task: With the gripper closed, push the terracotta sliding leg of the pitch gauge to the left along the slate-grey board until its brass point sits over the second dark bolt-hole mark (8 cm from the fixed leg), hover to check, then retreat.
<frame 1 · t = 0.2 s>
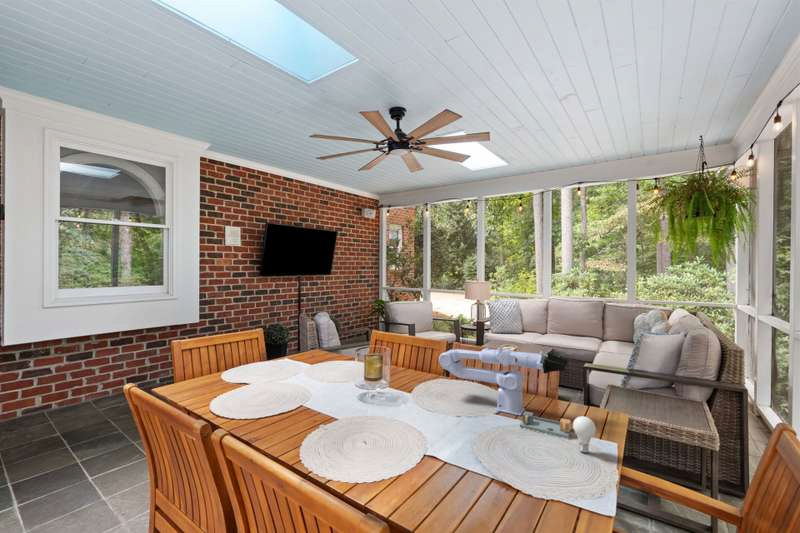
hand: (566, 364, 137), 22 cm above the table, tool horizontal, fingers open, 7 cm apart
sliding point: (565, 425, 126), point 3 cm above the table, slide at 6.5 cm
lightbulb: (583, 452, 114), on the table
gauge board: (545, 428, 131), on the table
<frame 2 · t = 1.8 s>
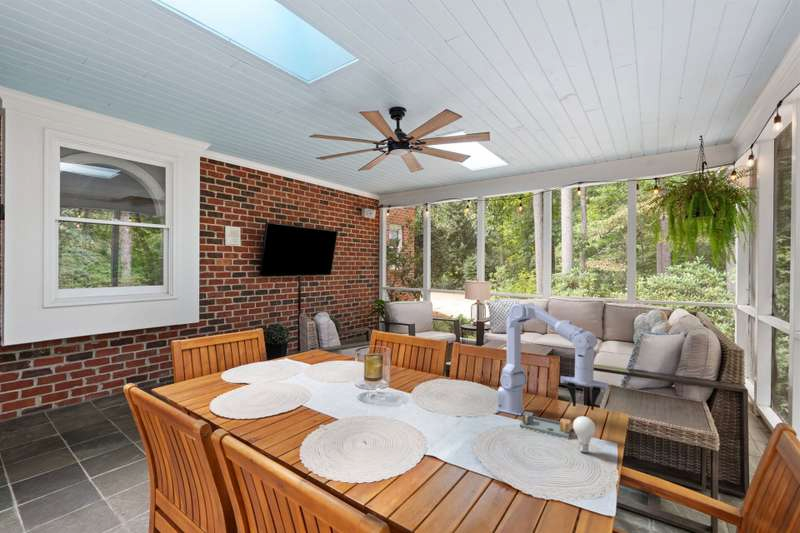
hand: (583, 407, 124), 10 cm above the table, tool pointing down, fingers open, 5 cm apart
nothing on the table moved.
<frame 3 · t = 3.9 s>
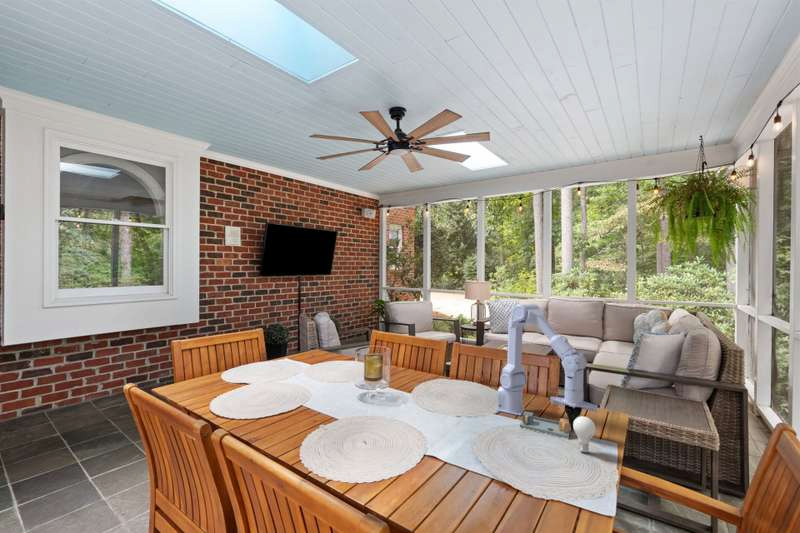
hand: (572, 428, 126), 3 cm above the table, tool pointing down, fingers closed
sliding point: (564, 425, 126), point 3 cm above the table, slide at 6.2 cm, touching gripper
everything else where it was.
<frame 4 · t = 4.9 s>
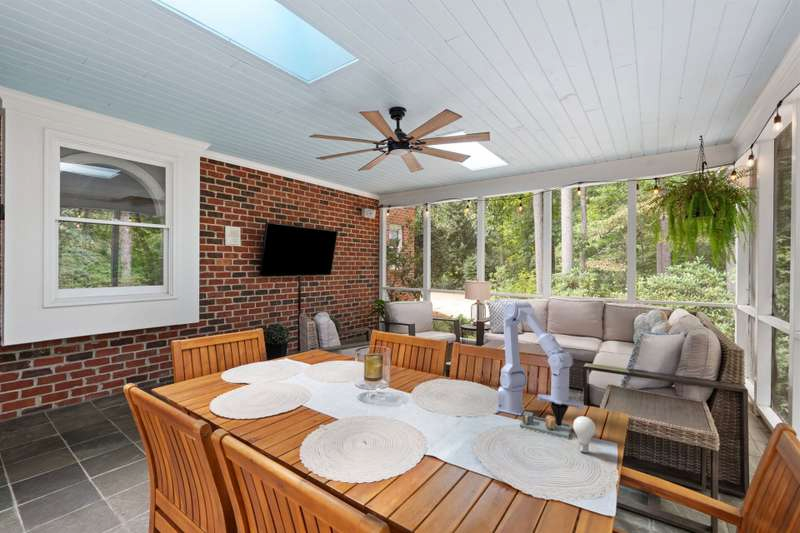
hand: (559, 424, 128), 3 cm above the table, tool pointing down, fingers closed
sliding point: (550, 422, 129), point 3 cm above the table, slide at 1.8 cm, touching gripper
everything else where it was.
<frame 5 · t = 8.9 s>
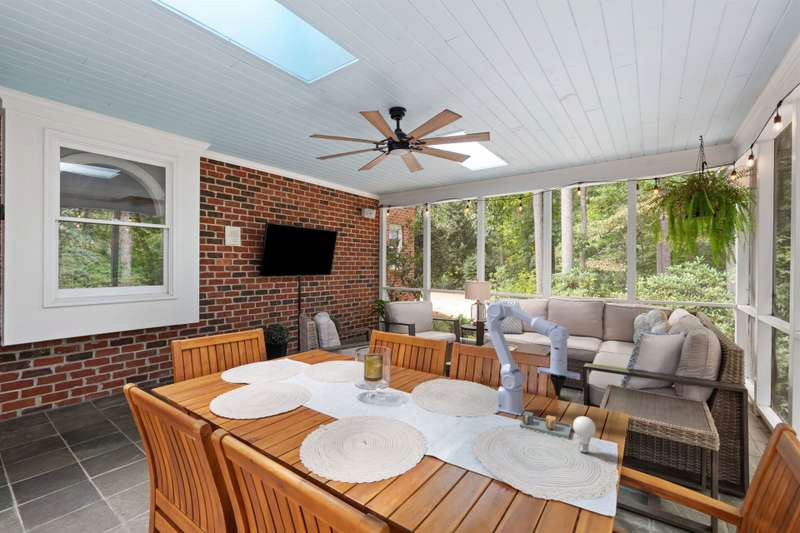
hand: (557, 395, 136), 10 cm above the table, tool pointing down, fingers closed
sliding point: (550, 422, 129), point 3 cm above the table, slide at 1.8 cm
everything else where it was.
at the end: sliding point slide at 1.8 cm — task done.
